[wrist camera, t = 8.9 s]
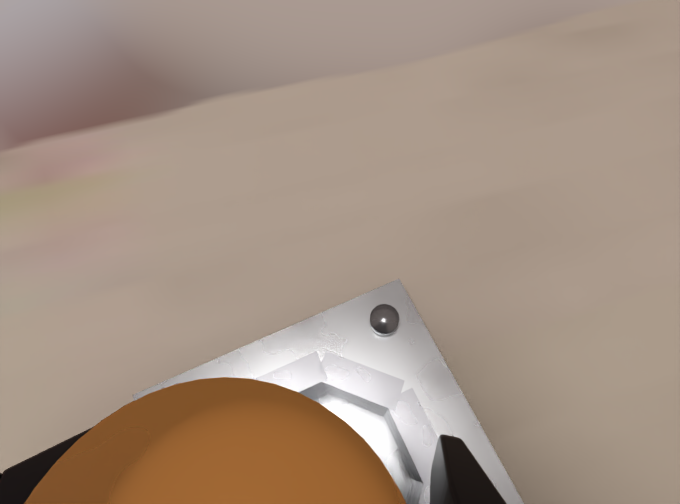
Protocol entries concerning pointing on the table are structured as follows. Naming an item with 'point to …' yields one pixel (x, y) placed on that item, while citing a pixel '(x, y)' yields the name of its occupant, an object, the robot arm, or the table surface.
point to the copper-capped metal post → (220, 452)
